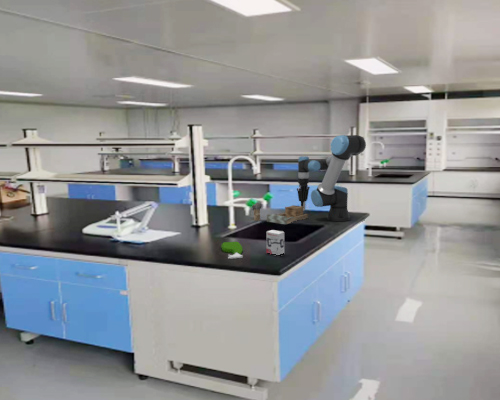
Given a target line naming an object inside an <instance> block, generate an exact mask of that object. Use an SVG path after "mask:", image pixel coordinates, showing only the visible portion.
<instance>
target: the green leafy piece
mask: <svg viewBox="0 0 500 400" xmlns="http://www.w3.org/2000/svg"><path fill="white" fill-rule="evenodd" d="M220 247H221V251H222V252H223V253H227V254H228V255H227V259H229V260H231V259H232V260H233V259H242V258H243V257H244V255H243V254H242V253H243V251H244V249H243V246H242V245H241V244H240V242H238V241H227V242H225V241H224V242H223V243H221V246H220Z"/></svg>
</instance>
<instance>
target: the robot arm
mask: <svg viewBox="0 0 500 400" xmlns="http://www.w3.org/2000/svg"><path fill="white" fill-rule="evenodd" d="M366 147H367V144H366V140H365V138H364V137H362V136H361V135H358V134H352V135H351V134H349V135H345V134H344V135H343V134H342V135H336V136H335V137H334V138H333V139H332V140H331V142H330V151H331V155H330V156H328V157H327V158H325V159H310V157H309V156H306V155H305V156H299V157H298V161H297V163H298V165H297V166H298V167H297V169H298V170H297V171H298V173H297V174H298V177H297V178H298V179H297V183H298V184H299V185H298V188H296V191H297V196H298V197H297V198H298V201H299V202H300V206H302V207H304V208H303V212H304V211H306V202H307V201H308V198H309V191H310V188H311V187H310V186H308V185H309V177H310V172H312V173H315V172H319V171H326V172H325V174H324V177H323V179H322V181H321V183H319V184H318V185H317V188H316V189H313V190H311V193H310V199H311V202H312V204H313V205H314V206H315V207H317V208H319V207H320V208H323V207H329V211H328V213H327V220H328V221H331V222H347V221H350V219H351V218H350V217H351V216H350V212H349V209H348V199H349V197H348V195H349V192H348V188H347V187H345V186H338V185H336V184H337V182H338V179H339V177H340V174H341V172H342V170H343V168H344V166H345V163H346V161H348V160H349V159H350V158H352V157H353V156H355V157H357V156H358V155H360V154H362V153H363V152H364V151H365V149H366Z"/></svg>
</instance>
